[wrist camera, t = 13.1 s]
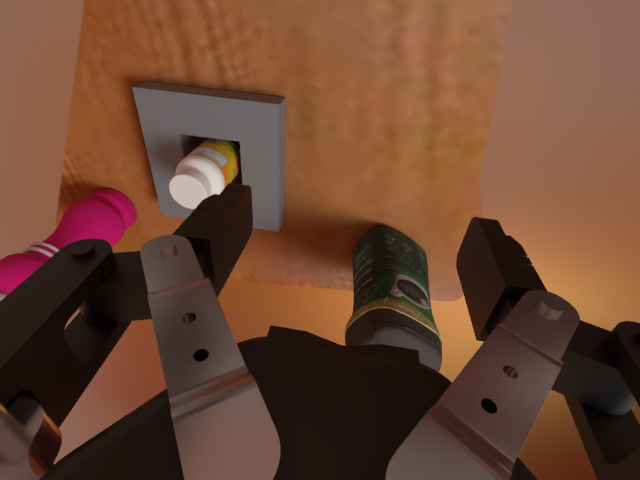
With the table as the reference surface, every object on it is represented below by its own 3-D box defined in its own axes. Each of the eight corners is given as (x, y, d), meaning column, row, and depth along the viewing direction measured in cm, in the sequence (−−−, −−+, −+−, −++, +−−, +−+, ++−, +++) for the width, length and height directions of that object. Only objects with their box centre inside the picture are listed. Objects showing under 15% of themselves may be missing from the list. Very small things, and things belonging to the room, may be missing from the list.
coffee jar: (344, 253, 49) (328, 367, 34) (378, 215, 45) (377, 326, 30) (398, 285, 51) (405, 406, 36) (436, 252, 47) (462, 373, 32)
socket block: (147, 81, 39) (132, 87, 36) (285, 97, 38) (279, 104, 35) (172, 203, 48) (161, 214, 46) (284, 219, 47) (278, 232, 45)
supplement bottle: (231, 184, 45) (200, 224, 37) (195, 159, 44) (154, 195, 36) (251, 153, 42) (221, 189, 34) (212, 126, 41) (173, 157, 33)
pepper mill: (88, 178, 48) (-61, 271, 32) (138, 193, 48) (16, 293, 32) (95, 219, 52) (-33, 320, 36) (141, 233, 52) (35, 339, 36)
